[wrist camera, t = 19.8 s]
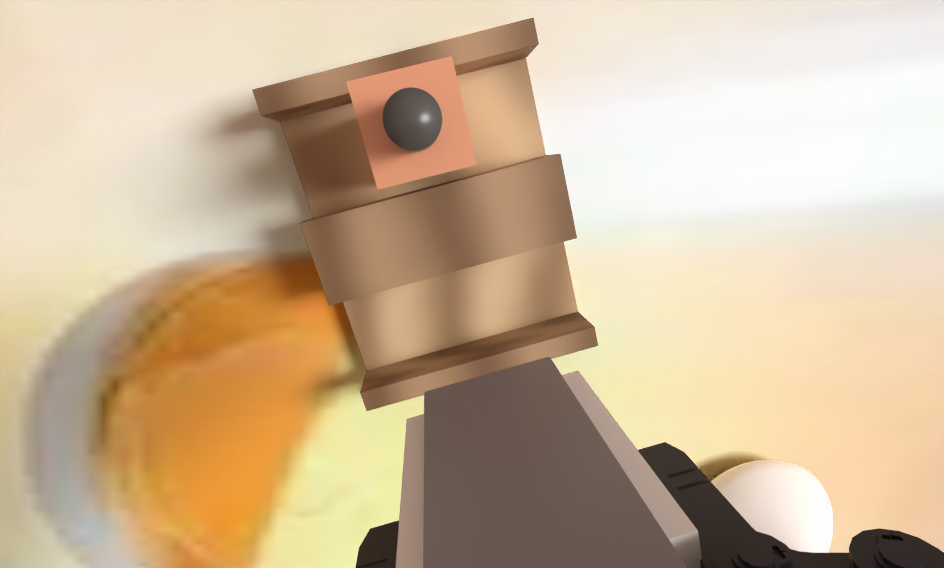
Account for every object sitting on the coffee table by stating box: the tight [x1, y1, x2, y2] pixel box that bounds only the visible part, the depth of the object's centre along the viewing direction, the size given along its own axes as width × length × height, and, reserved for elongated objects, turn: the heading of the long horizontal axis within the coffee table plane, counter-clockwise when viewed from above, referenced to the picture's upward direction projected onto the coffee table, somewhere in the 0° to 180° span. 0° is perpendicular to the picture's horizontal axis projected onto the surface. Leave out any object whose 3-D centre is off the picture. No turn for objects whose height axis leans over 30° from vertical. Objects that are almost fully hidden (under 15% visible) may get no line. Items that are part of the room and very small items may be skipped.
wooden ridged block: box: [252, 18, 598, 411], centre depth 27 cm, size 14×19×4 cm
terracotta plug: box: [346, 56, 477, 190], centre depth 21 cm, size 4×4×11 cm
